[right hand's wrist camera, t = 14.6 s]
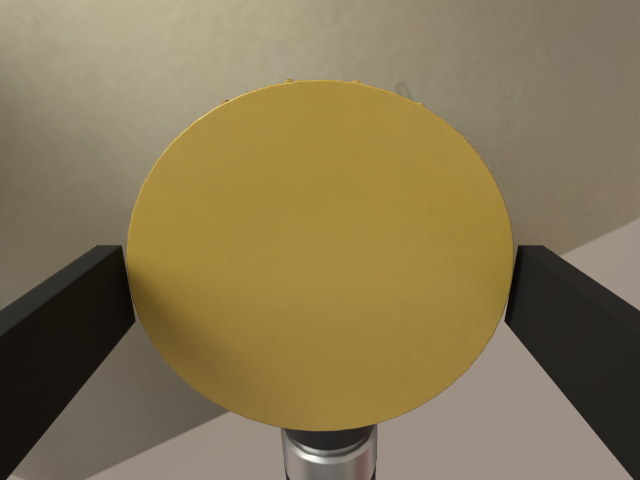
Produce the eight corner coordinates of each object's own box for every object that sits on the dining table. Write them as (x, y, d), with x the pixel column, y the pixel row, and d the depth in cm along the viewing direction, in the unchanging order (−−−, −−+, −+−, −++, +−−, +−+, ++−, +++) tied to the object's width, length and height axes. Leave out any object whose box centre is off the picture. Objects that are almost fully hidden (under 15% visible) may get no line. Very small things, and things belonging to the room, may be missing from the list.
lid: (545, 297, 14) (576, 325, 12) (286, 438, 17) (282, 478, 15) (371, -10, 11) (380, -29, 9) (77, 223, 13) (41, 242, 12)
